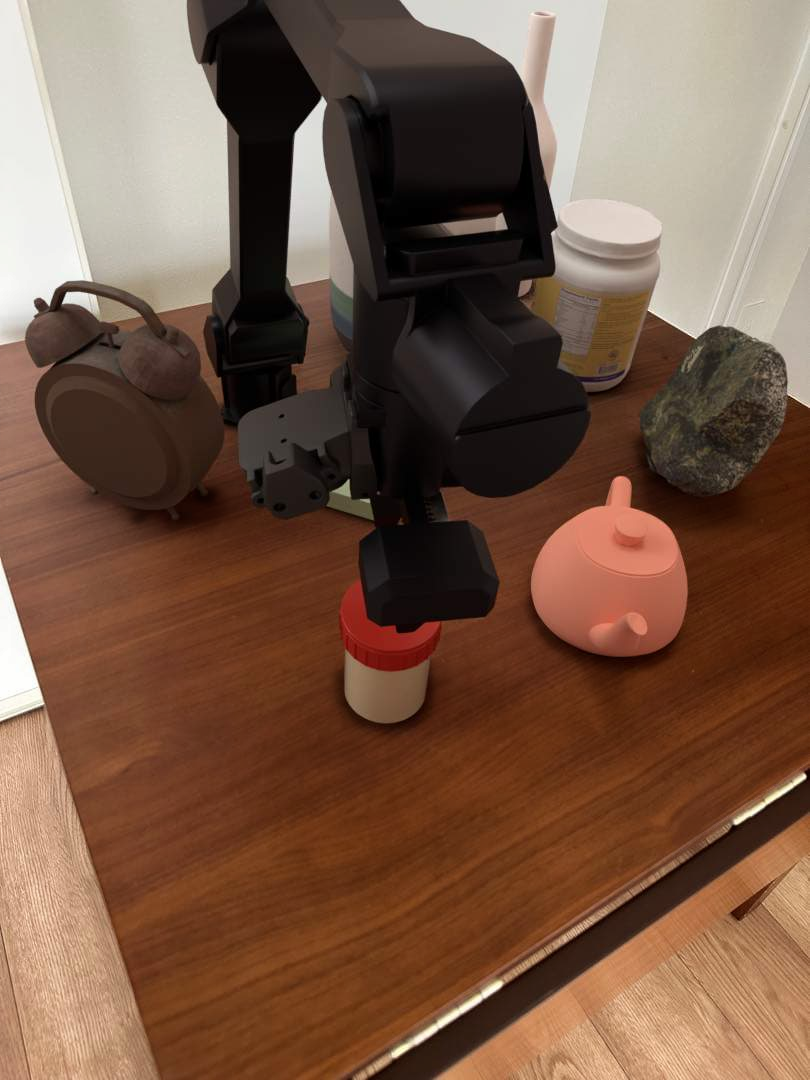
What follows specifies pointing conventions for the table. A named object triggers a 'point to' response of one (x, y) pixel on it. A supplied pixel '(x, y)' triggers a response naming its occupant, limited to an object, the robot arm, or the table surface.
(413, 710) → the jar
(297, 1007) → the table surface
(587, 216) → the supplement tub
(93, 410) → the alarm clock
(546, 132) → the bottle
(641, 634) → the teapot
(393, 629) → the jar lid
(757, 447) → the stone
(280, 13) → the robot arm
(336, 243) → the vase
